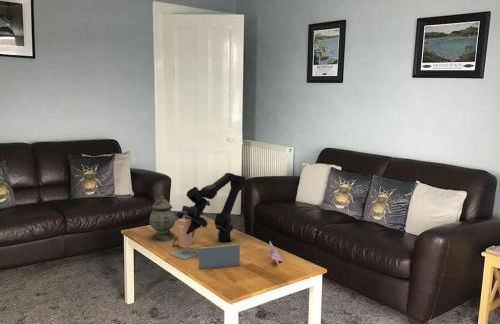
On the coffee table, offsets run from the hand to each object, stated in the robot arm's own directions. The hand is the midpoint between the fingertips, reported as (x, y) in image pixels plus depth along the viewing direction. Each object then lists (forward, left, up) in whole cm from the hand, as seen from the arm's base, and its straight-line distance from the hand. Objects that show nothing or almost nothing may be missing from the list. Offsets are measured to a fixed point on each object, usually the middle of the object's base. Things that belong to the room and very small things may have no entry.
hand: (183, 233), depth 235 cm
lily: (-41, +23, -12) cm, 49 cm away
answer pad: (-1, -1, -12) cm, 12 cm away
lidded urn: (+7, -31, -12) cm, 34 cm away
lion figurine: (-3, -16, -12) cm, 20 cm away
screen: (-14, +20, -12) cm, 27 cm away
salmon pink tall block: (-1, -1, -7) cm, 7 cm away
